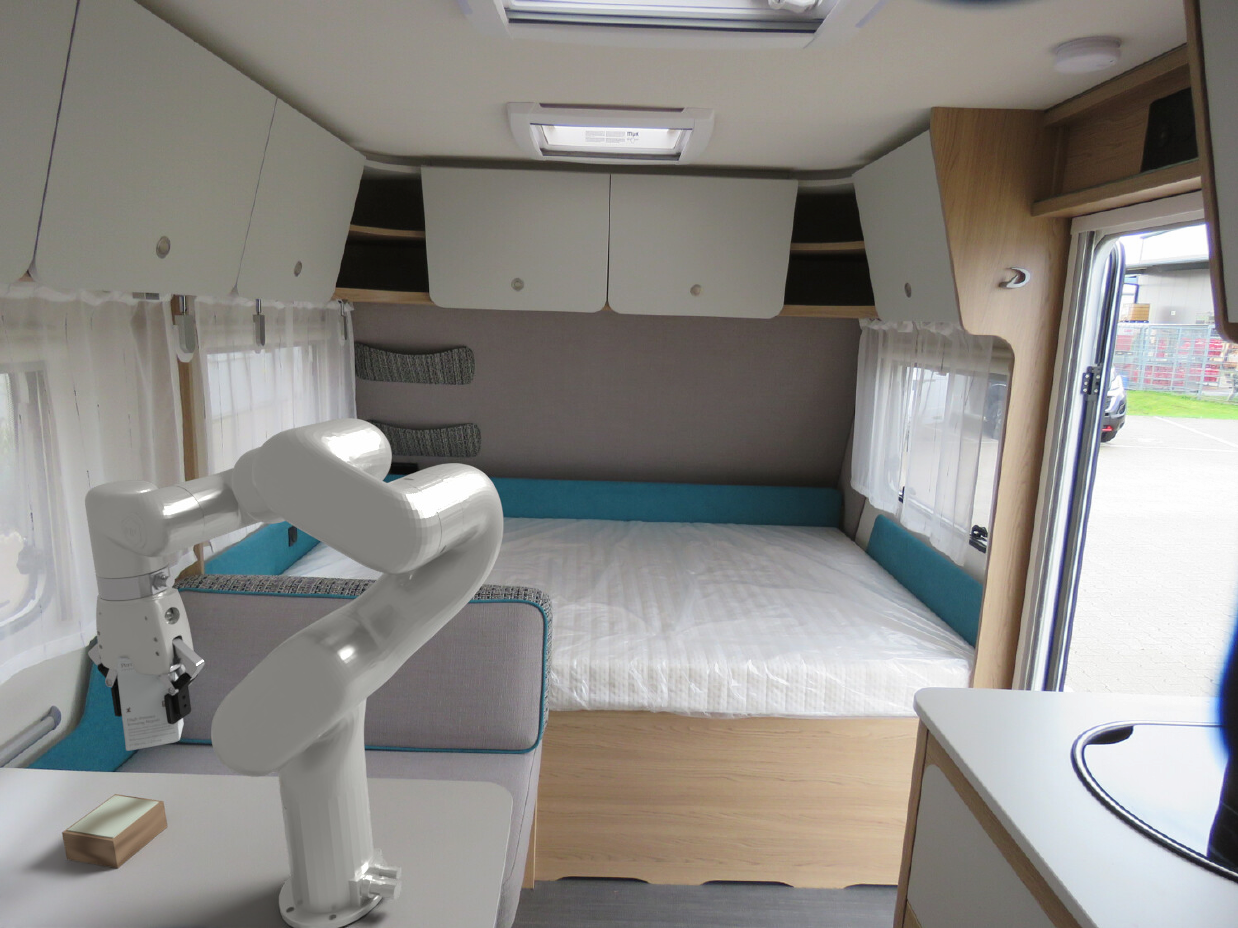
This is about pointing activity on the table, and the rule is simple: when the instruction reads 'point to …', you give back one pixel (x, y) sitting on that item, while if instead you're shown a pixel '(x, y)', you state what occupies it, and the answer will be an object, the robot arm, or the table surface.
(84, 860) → the brown square block
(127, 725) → the skincare box
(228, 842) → the table surface
